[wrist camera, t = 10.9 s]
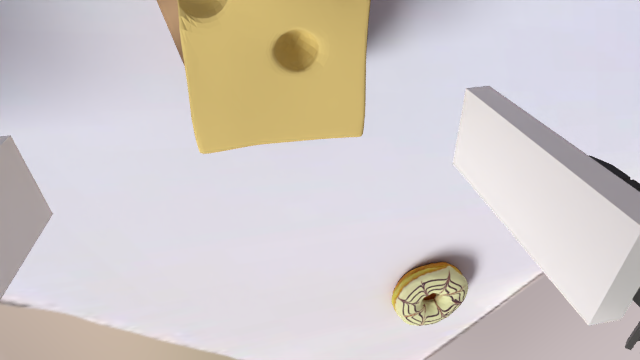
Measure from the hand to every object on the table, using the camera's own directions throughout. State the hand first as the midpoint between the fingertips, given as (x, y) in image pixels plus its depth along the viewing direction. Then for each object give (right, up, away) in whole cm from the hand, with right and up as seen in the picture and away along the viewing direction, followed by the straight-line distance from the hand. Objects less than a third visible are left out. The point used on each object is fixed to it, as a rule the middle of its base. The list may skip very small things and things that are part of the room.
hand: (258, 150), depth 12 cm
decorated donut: (+17, -16, +46) cm, 52 cm away
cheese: (-2, +11, +17) cm, 20 cm away
